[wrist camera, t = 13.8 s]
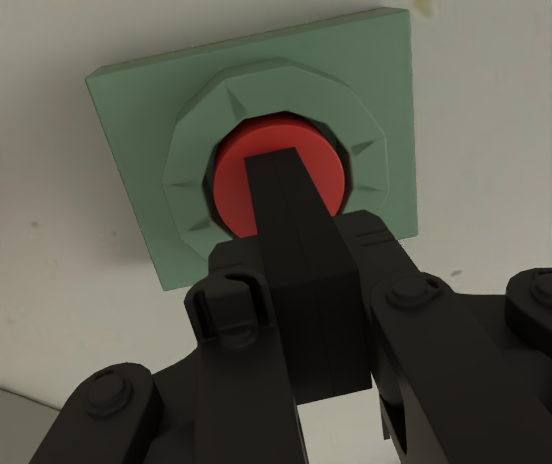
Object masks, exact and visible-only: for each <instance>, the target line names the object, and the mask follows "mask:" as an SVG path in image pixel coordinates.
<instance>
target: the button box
mask: <svg viewBox="0 0 552 464" xmlns="http://www.w3.org/2000/svg"><path fill="white" fill-rule="evenodd" d="M85 81H86V84H87V87H88V89H89V92H90V95H91V97H92V100H93V103H94V105H95V108H96V111H97V114H98V116H99V119H100V122H101V124H102V127H103V130H104V132H105V135H106V138H107V140H108V143H109V146H110V148H111V151H112V154H113V157H114V159H115V162H116V165H117V167H118V170H119V173H120V175H121V178H122V181H123V183H124V186H125V189H126V191H127V194H128V197H129V200H130V202H131V205H132V208H133V210H134V213H135V216H136V218H137V221H138V224H139V226H140V229H141V232H142V234H143V237H144V240H145V243H146V245H147V248H148V251H149V253H150V256H151V259H152V261H153V264H154V267H155V269H156V272H157V275H158V277H159V280H160V283H161V285H162V288H163V290H164V291H168V290H173V289H177V288H182V287H186V286H191V285H195V284H196V283H197V282H198V281H200V280H202V279H203V278H205V277H207V276H208V272H209V271H208V256H209V255H210V253H211V252H212V250H213V249H214V247H215V246H216V244H217V243H220V242H224V241H229V240H234V239H238V238H241V237H239V236H238V235H236V234H235V233H234V232H233V231H231V229H230V228H229V227H228V226H227V225H226V224H225V223H224V221H223V220H222V218H221V216H220V214H219V213H218V210H217V207H216V205H215V200H214V193H213V167H214V159H215V155H216V152H217V149H218V147H219V145H220V143H221V141H222V139H223V138H224V137H225V136H226V135H227V134H228V133H229V132H230V131H232V130H233V129H234V128H235V127H236V126H237V125H238V124H239V123H240V122H241V121H243V120H244V119H248V118H253V117H258V116H262V115H267V114H272V113H276V112H281V111H284V112H290V113H293V114H296V115H299V116H301V117H303V118H305V119H307V120H308V121H310V122H311V123H312V124H314V125H315V126H316V127H317V128H318V129H319V130H320V131H321V133H322V134H323V135H324V137H325V138H326V139H327V141H328V142H329V143H330V145H331V146H332V148H333V149H334V150H335V152H336V153H337V155H338V157H339V159H340V161H341V164H342V167H343V172H344V181H345V185H344V194H343V198H342V201H341V204H340V207H339V209H338V211H337V212H336V214H335V215H340V214H345V213H349V212H354V211H358V210H363V209H365V210H367V211H369V212H371V213H373V214H375V215H377V216H379V217H380V218H381V219H382V220H383V222H384V223H385V224H386V226H387V227H388V230H389V231H391V233H392V234H393V235H394V237H395V240H400V239H405V238H409V237H414V236H417V235H418V225H417V197H416V169H415V140H414V112H413V83H412V55H411V26H410V10H408V9H399V8H390V7H383V8H378V9H373V10H369V11H364V12H359V13H354V14H350V15H345V16H340V17H335V18H331V19H326V20H321V21H316V22H312V23H307V24H302V25H297V26H293V27H288V28H283V29H278V30H274V31H269V32H264V33H259V34H255V35H250V36H245V37H240V38H236V39H231V40H226V41H221V42H217V43H212V44H207V45H202V46H198V47H193V48H188V49H183V50H179V51H174V52H169V53H164V54H160V55H155V56H150V57H145V58H140V59H136V60H131V61H126V62H121V63H117V64H112V65H107V66H102V67H100V68H99V69H97V70H96V71H94V72H93V73H92V74H90V75H89V76H87V77H86V78H85Z"/></svg>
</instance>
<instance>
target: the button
mask: <svg viewBox="0 0 552 464" xmlns="http://www.w3.org/2000/svg"><path fill="white" fill-rule="evenodd" d="M291 147H295V148H296V149H297V151H298V153H299V155H300V157H301V159H302V161H303V163H304V165H305V167H306V169H307V171H308V173H309V174H310V176H311V178H312V180H313V182H314V184H315V186H316V188H317V190H318V192H319V194H320V196H321V197H322V199H323V201H324V203H325V205H326V207H327V209H328V211H329V213H330V215H331V216H335V214H336V212H337V211H338V209H339V207H340V204H341V201H342V198H343V194H344V185H345V181H344V172H343V167H342V164H341V161H340V159H339V157H338V155H337V153H336V152H335V150H334V149H333V148H332V146H331V145H330V143H329V142H328V141H327V139H326V138H325V137H324V135H323V134H322V133H321V131H320V130H319V129H318V128H317V127H316V126H315V125H314V124H312V123H311V122H310V121H308V120H307V119H305V118H303V117H301V116H299V115H296V114H293V113H290V112H284V111H281V112H276V113H272V114H267V115H262V116H258V117H253V118H248V119H244V120H243V121H241V122H240V123H239V124H238V125H237V126H236V127H235V128H234V129H233V130H232V131H230V132H229V133H228V134H227V135H226V136H225V137H224V138H223V139H222V141H221V143H220V145H219V147H218V149H217V152H216V155H215V159H214V167H213V193H214V200H215V205H216V207H217V210H218V213H219V214H220V216H221V218H222V220H223V221H224V223H225V224H226V225H227V226H228V227H229V228H230V229H231V231H233V232H234V233H235V234H236V235H238V236H239V237H241V238H243V237H247V236H252V235H256V234H258V233H257V228H256V222H255V217H254V211H253V206H252V200H251V195H250V189H249V184H248V178H247V173H246V167H245V162H244V157H249V156H254V155H258V154H263V153H267V152H272V151H277V150H281V149H286V148H291Z"/></svg>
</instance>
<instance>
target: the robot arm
mask: <svg viewBox="0 0 552 464" xmlns="http://www.w3.org/2000/svg"><path fill="white" fill-rule="evenodd" d="M244 162H245V167H246V173H247V178H248V184H249V189H250V195H251V200H252V206H253V211H254V217H255V222H256V228H257V233H258V234H256V235H252V236H247V237H243V238H238V239H234V240H229V241H224V242H220V243H217V244H216V246H215V247H214V249H213V250H212V252H211V253H210V255H209V256H208V271H209V272H208V276H207V277H205V278H203V279H202V280H200V281H198V282H197V283H196V284H195V285H194V286H193V287H192V288H191V289H190V290H189V291H188V292H187V294H186V297H185V300H184V305H185V308H186V311H187V314H188V317H189V319H190V322H191V325H192V328H193V331H194V334H195V337H196V339H197V342H198V345H197V348H196V349H195V350H194V351H193V352H192V353H190V354H189V355H188V356H187V357H185V358H184V359H182V360H181V361H179V362H177V363H175V364H174V365H171V366H169V367H167V368H165V369H163V370H161V371H159V372H157V373H155V374H153V375H151V372H150V370H148V369H147V368H145V367H144V366H142V365H141V364H136V363H128V362H126V363H121V364H116V365H111V366H109V367H106V368H104V369H102V370H100V371H98V372H96V373H94V374H93V375H91V376H90V377H89V378H87V379H86V380H85V381H83V382H82V383H81V384H80V385H79V386H78V387H77V388H76V389H75V391H74V392H73V393H72V394H71V396H70V397H69V398H68V400H67V401H66V403H65V405H64V406H63V408H62V410H61V411H60V413H59V414H58V416H57V418H56V419H55V421H54V423H53V424H52V426H51V427H50V429H49V431H48V432H47V434H46V436H45V437H44V439H43V440H42V442H41V444H40V445H39V447H38V449H37V450H36V452H35V453H34V455H33V457H32V458H31V460H30V462H29V463H28V464H309V461H308V456H307V451H306V446H305V441H304V436H303V432H302V427H301V423H300V419H299V414H298V410H297V405H301V404H305V403H310V402H314V401H318V400H323V399H327V398H331V397H336V396H340V395H345V394H349V393H353V392H358V391H362V390H367V389H371V388H372V379H371V373H372V375H373V378H374V380H375V383H376V385H377V388H378V390H379V399H380V409H381V419H382V429H383V436H384V440H386V439H390V436H391V438H392V441H393V443H394V446H395V448H396V451H397V453H398V456H399V458H400V461H401V463H402V464H552V268H533V269H530V270H526V271H522V272H519V273H518V274H516V275H515V276H513V277H512V278H510V280H509V282H508V285H507V287H506V295H471V294H460V293H455V292H454V291H453V290H452V289H451V287H450V286H449V285H448V284H447V283H445V282H444V281H443V280H442V279H440V278H439V277H436V276H434V275H431V274H428V273H425V272H420V271H419V270H418V268H417V267H416V265H415V264H414V263H413V261H412V260H411V259H410V257H409V256H408V254H407V253H406V252H405V250H404V249H403V248H402V246H401V245H400V244H399V242H398V241H397V240H395V237H394V235H393V234H392V233H391V231H389V230H388V227H387V226H386V224H385V223H384V222H383V220H382V219H381V218H380V217H379V216H377V215H375V214H373V213H371V212H369V211H367V210H365V209H363V210H358V211H354V212H349V213H345V214H340V215H335V216H331V215H330V213H329V211H328V209H327V207H326V205H325V203H324V201H323V199H322V197H321V196H320V194H319V192H318V190H317V188H316V186H315V184H314V182H313V180H312V178H311V176H310V174H309V173H308V171H307V169H306V167H305V165H304V163H303V161H302V159H301V157H300V155H299V153H298V151H297V149H296V148H295V147H291V148H286V149H281V150H277V151H272V152H267V153H263V154H258V155H254V156H249V157H244Z"/></svg>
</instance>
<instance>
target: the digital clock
mask: <svg viewBox="0 0 552 464" xmlns="http://www.w3.org/2000/svg"><path fill="white" fill-rule="evenodd" d="M59 413H60V411H58V410H55V409H53V408H50V407H47V406H45V405H42V404H39V403H37V402H34V401H31V400H29V399H26V398H23V397H20V396H18V395H15V394H12V393H10V392H7V391H4V390H2V389H0V464H28V463H29V462H30V460H31V458H32V457H33V455H34V453H35V452H36V450H37V449H38V447H39V445H40V444H41V442H42V440H43V439H44V437H45V436H46V434H47V432H48V431H49V429H50V427H51V426H52V424H53V423H54V421H55V419H56V418H57V416H58V414H59Z"/></svg>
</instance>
